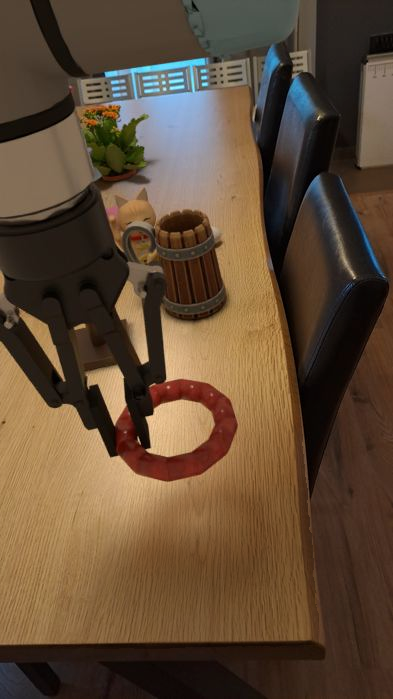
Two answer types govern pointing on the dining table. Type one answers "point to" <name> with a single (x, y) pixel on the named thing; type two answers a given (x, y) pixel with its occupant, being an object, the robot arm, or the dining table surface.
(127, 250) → the mug
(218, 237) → the egg
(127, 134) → the potted flower
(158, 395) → the ring
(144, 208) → the figurine
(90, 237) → the robot arm
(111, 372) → the dining table surface
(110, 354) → the stand
